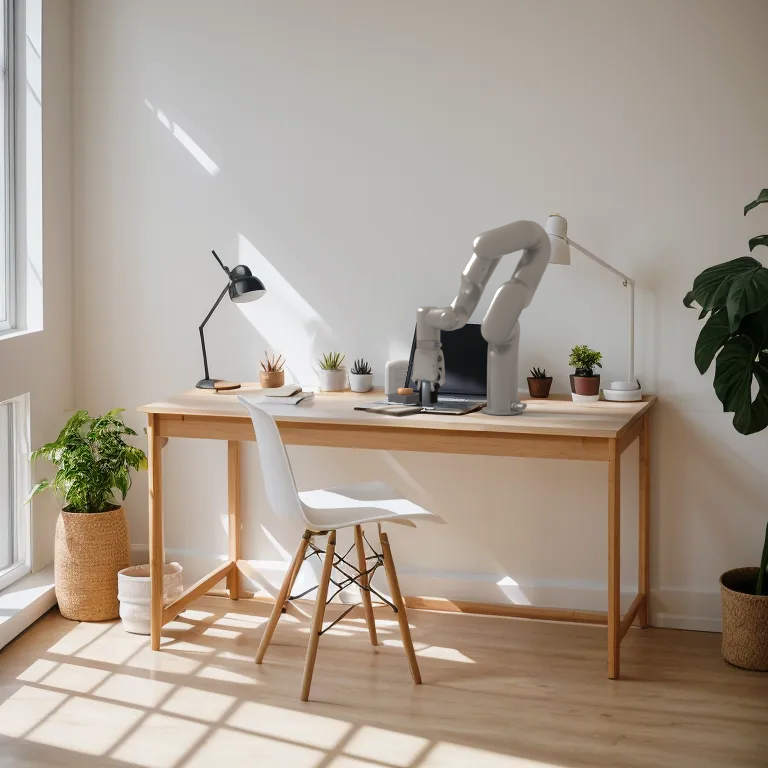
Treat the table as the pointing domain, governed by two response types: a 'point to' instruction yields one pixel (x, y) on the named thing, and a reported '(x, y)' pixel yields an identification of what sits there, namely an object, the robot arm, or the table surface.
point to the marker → (426, 393)
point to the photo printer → (395, 375)
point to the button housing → (403, 398)
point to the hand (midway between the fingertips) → (428, 401)
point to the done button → (405, 391)
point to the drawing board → (394, 410)
